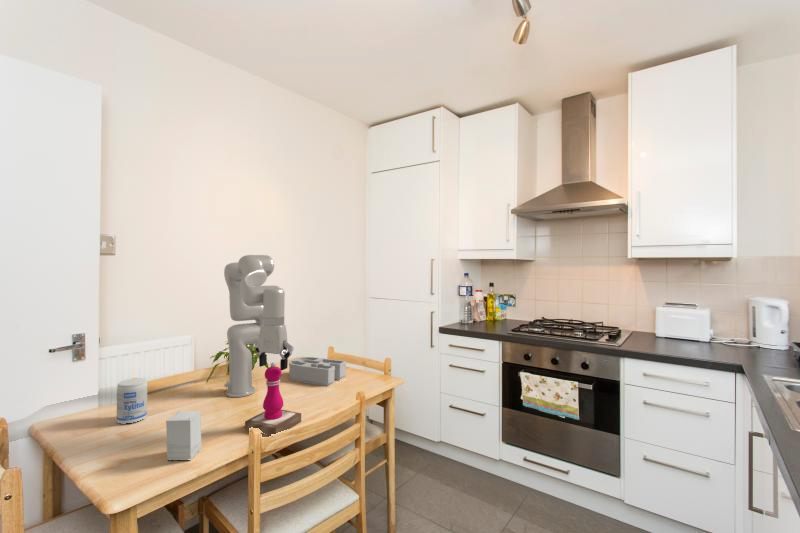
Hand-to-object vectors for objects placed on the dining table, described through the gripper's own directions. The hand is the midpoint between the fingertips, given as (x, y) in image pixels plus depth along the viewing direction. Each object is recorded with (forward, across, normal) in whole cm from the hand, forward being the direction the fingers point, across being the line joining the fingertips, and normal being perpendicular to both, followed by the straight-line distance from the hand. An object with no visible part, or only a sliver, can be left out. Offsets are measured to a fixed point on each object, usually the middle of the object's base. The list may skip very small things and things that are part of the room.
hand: (273, 367), depth 142 cm
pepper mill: (+18, 0, 0) cm, 18 cm away
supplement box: (+22, -10, -28) cm, 37 cm away
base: (+22, +1, 0) cm, 22 cm away
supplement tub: (+23, -52, -18) cm, 59 cm away
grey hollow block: (+23, -19, +53) cm, 61 cm away
